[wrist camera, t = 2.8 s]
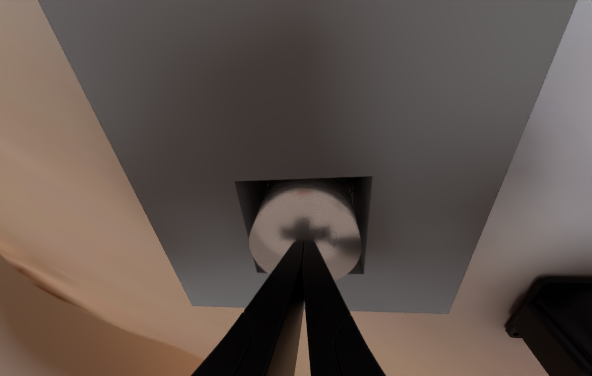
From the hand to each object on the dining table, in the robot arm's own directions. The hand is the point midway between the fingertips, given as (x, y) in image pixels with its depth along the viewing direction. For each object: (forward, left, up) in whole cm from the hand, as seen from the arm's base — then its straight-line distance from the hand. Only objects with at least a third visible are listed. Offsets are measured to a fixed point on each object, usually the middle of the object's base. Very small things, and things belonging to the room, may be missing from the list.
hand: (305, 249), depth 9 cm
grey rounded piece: (0, 0, -4) cm, 4 cm away
